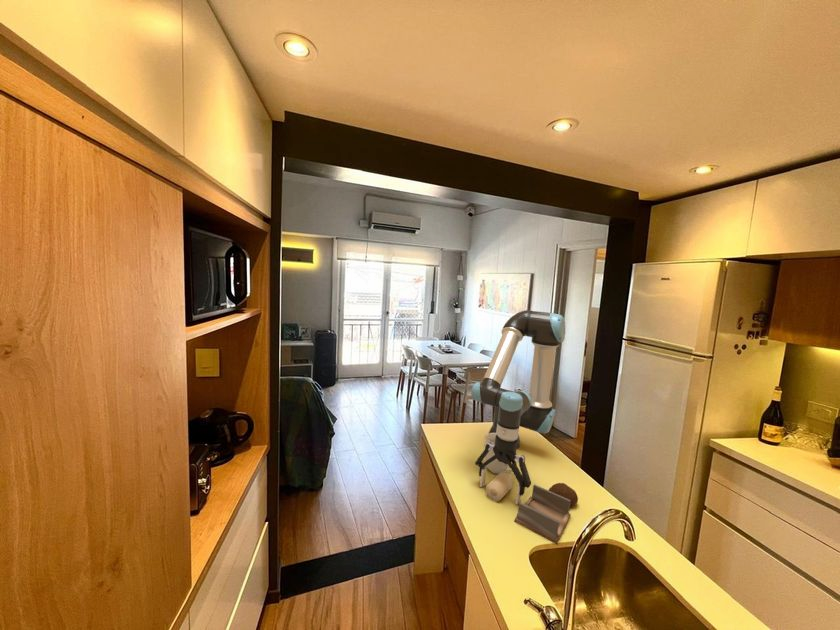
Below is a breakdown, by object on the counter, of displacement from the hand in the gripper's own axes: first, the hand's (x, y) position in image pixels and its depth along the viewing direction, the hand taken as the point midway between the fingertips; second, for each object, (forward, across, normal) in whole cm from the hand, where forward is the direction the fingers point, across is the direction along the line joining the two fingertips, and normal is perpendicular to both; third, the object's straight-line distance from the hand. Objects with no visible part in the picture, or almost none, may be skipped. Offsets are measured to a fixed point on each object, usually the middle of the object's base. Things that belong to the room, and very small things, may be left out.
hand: (499, 493), depth 120 cm
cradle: (0, +16, -2) cm, 16 cm away
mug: (0, -7, +14) cm, 16 cm away
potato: (0, +18, +12) cm, 22 cm away
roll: (0, 0, 0) cm, 0 cm away
